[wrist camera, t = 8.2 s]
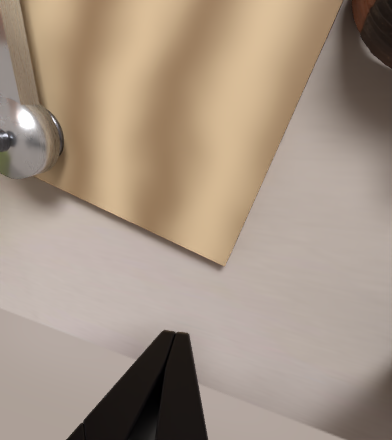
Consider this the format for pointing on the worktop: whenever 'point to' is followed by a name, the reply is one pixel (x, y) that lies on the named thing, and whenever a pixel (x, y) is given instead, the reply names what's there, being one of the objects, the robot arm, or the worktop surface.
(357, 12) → the pottery mug
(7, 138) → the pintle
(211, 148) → the board
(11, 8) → the latch lever
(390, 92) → the worktop surface
